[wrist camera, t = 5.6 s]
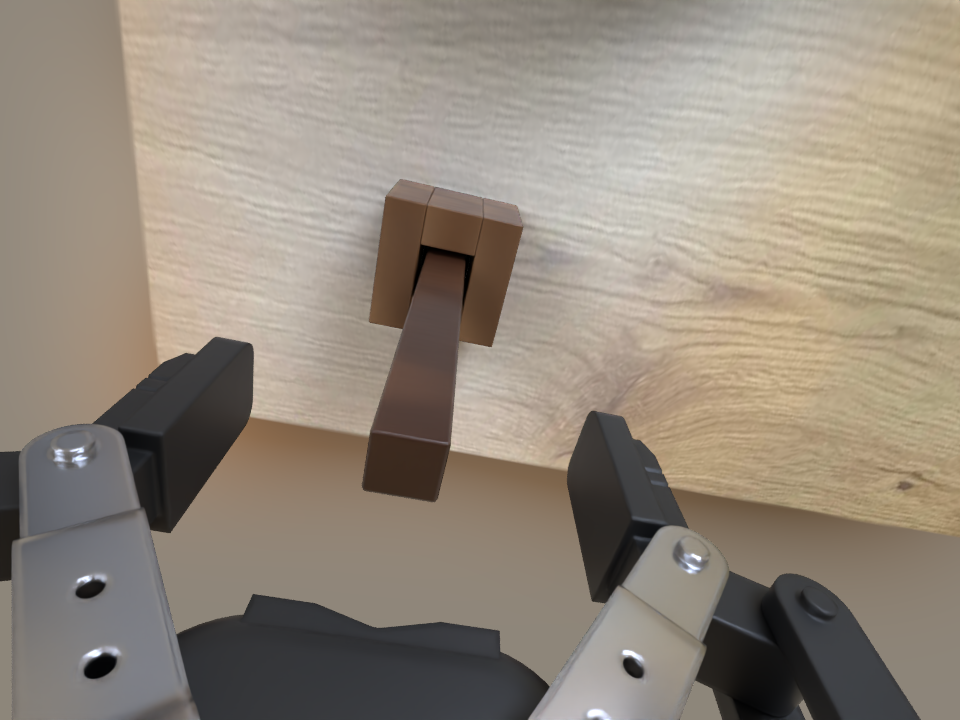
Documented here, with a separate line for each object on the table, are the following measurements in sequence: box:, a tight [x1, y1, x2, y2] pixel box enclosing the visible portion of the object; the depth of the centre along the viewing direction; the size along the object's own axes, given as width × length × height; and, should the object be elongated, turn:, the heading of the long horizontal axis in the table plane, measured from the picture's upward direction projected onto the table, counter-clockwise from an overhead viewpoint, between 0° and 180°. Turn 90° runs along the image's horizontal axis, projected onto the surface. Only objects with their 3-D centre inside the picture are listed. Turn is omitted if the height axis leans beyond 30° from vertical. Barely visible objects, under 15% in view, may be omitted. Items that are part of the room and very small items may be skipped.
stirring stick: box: [362, 246, 466, 502], centre depth 18 cm, size 2×2×16 cm
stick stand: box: [369, 179, 523, 347], centre depth 23 cm, size 5×5×4 cm
